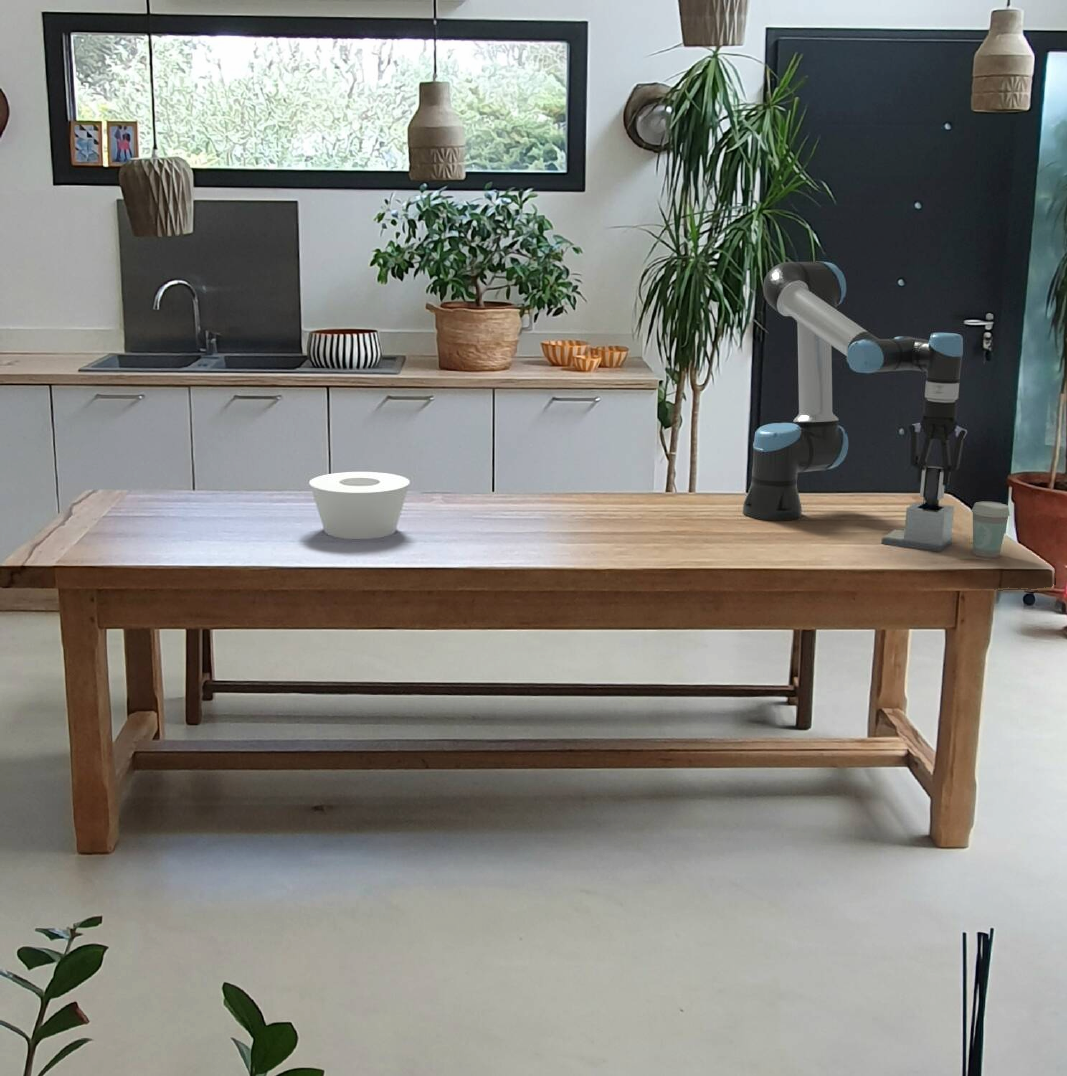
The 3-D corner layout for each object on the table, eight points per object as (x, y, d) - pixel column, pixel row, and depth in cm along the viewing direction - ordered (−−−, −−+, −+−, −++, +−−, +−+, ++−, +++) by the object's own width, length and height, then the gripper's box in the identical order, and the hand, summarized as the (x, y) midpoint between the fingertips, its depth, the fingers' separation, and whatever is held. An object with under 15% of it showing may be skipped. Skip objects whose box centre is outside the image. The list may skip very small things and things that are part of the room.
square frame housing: (881, 543, 325) (884, 506, 322) (894, 534, 334) (897, 498, 331) (939, 552, 318) (943, 514, 315) (951, 542, 327) (955, 505, 325)
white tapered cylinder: (428, 526, 332) (428, 479, 329) (372, 547, 311) (372, 497, 308) (348, 514, 343) (348, 468, 340) (289, 533, 322) (288, 484, 319)
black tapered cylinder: (920, 517, 322) (924, 468, 319) (924, 514, 325) (928, 465, 322) (935, 519, 320) (940, 469, 317) (939, 516, 323) (943, 467, 320)
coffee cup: (961, 550, 320) (966, 500, 317) (996, 550, 321) (1001, 500, 318) (975, 559, 312) (981, 509, 309) (1011, 559, 313) (1017, 509, 310)
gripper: (901, 398, 317) (892, 495, 323) (973, 405, 309) (963, 504, 314) (910, 394, 323) (901, 490, 329) (980, 401, 315) (970, 499, 321)
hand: (931, 497), depth 322 cm, fingers closed on black tapered cylinder, 3 cm apart
